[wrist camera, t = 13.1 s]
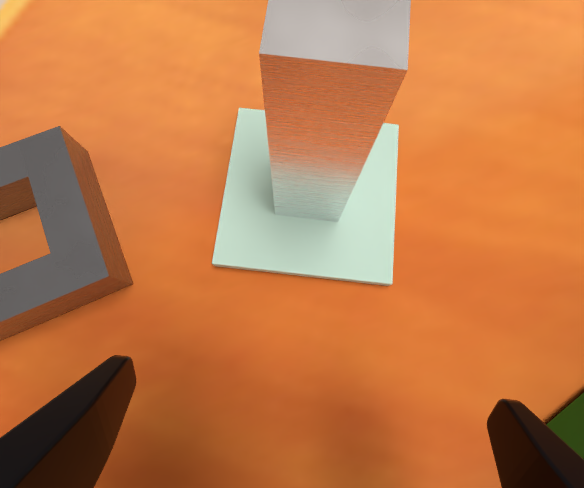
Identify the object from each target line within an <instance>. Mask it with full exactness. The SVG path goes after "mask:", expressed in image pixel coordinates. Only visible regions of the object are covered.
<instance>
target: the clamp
mask: <svg viewBox="0 0 584 488" xmlns="http://www.w3.org/2000/svg"><path fill="white" fill-rule="evenodd" d="M546 425H547V426H548V427H549V428H550V429H551V430H552V431H553V432H554V433H555V434H556V435H558V436H559V437H560V438H561V439H562V440H563V441H564V442H565V443H566V444H567V445H568V446H570V447H571V448H572V449H573V450H574V451H575V452H576V453H577V454H578V455H579V456H580V457H582V458H583V459H584V393H582V394H581V395H580V396H579V397H578V398H577V399H575V400H574V401H573V402H572V403H571V404H570V405H568V406H567V407H566V408H565V409H564V410H563V411H561V412H560V413H559V414H558V415H557V416H556V417H554V418H553V419H552V420H551V421H550V422H549V423H547V424H546Z"/></svg>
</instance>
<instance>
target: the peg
mask: <svg viewBox="0 0 584 488" xmlns="http://www.w3.org/2000/svg"><path fill="white" fill-rule="evenodd" d="M410 2H411V0H268V6H267V12H266V17H265V23H264V29H263V34H262V40H261V46H260V51H259V57H260V67H261V77H262V87H263V97H264V107H265V117H266V127H267V137H268V147H269V157H270V167H271V177H272V187H273V197H274V207H275V215H283V216H291V217H299V218H308V219H316V220H325V221H333V222H338V221H339V219H340V217H341V215H342V213H343V210H344V208H345V206H346V204H347V202H348V199H349V197H350V195H351V193H352V191H353V188H354V186H355V184H356V182H357V180H358V177H359V175H360V173H361V171H362V169H363V167H364V164H365V162H366V160H367V158H368V156H369V153H370V151H371V149H372V147H373V145H374V142H375V140H376V138H377V136H378V134H379V131H380V129H381V127H382V125H383V123H384V120H385V118H386V116H387V114H388V112H389V109H390V107H391V105H392V103H393V101H394V99H395V96H396V94H397V92H398V90H399V88H400V85H401V83H402V81H403V79H404V77H405V74H406V72H407V70H408V48H409V25H410Z"/></svg>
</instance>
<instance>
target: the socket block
mask: <svg viewBox="0 0 584 488" xmlns="http://www.w3.org/2000/svg"><path fill="white" fill-rule="evenodd" d="M35 206H37V208H38V211H39V215H40V218H41V222H42V225H43V229H44V232H45V235H46V239H47V242H48V246H49V249H50V252H51V254H48V255H46V256H43V257H41V258H38V259H36V260H33V261H31V262H28V263H26V264H24V265H21V266H19V267H16V268H14V269H11V270H9V271H6V272H4V273H1V274H0V341H1V340H3V339H6V338H8V337H10V336H13V335H15V334H17V333H20V332H22V331H24V330H27V329H29V328H31V327H34V326H36V325H38V324H41V323H43V322H45V321H48V320H50V319H52V318H55V317H57V316H59V315H62V314H64V313H66V312H69V311H71V310H73V309H76V308H78V307H80V306H83V305H85V304H87V303H90V302H92V301H94V300H97V299H99V298H101V297H104V296H106V295H108V294H111V293H113V292H115V291H118V290H120V289H122V288H125V287H127V286H129V285H132V284H133V282H132V279H131V276H130V273H129V270H128V268H127V265H126V262H125V259H124V256H123V253H122V250H121V247H120V244H119V241H118V239H117V236H116V233H115V230H114V227H113V224H112V221H111V218H110V215H109V212H108V210H107V207H106V204H105V201H104V198H103V195H102V192H101V189H100V186H99V183H98V181H97V178H96V175H95V172H94V169H93V166H92V163H91V160H90V157H89V154H88V152H87V151H86V150H85V149H84V148H83V147H82V146H81V145H80V144H79V143H78V142H77V141H75V140H74V139H73V138H72V137H71V136H70V135H69V134H68V133H67V132H66V131H65V130H63V129H62V128H61V127H60V126H58V127H55V128H53V129H50V130H47V131H44V132H42V133H39V134H36V135H33V136H31V137H28V138H25V139H22V140H20V141H17V142H14V143H11V144H9V145H6V146H3V147H0V220H2V219H4V218H7V217H10V216H12V215H15V214H17V213H20V212H22V211H25V210H28V209H30V208H33V207H35Z"/></svg>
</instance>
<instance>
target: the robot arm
mask: <svg viewBox="0 0 584 488" xmlns="http://www.w3.org/2000/svg"><path fill="white" fill-rule="evenodd" d="M135 386H136V375H135V370H134V365H133V361H132V359H131V358H130V357H128V356H120V355H115V356H112V357H110V358H109V359H107V360H106V361H105V362H103V363H102V364H101V365H99V366H98V367H96V368H95V369H94V370H92V371H91V372H90V373H88V374H87V375H85V376H84V377H83V378H81V379H80V380H79V381H77V382H76V383H75V384H73V385H72V386H70V387H69V388H68V389H66V390H65V391H64V392H62V393H61V394H60V395H58V396H57V397H55V398H54V399H53V400H51V401H50V402H49V403H47V404H46V405H45V406H43V407H42V408H40V409H39V410H38V411H36V412H35V413H34V414H32V415H31V416H29V417H28V418H27V419H25V420H24V421H23V422H21V423H20V424H19V425H17V426H16V427H14V428H13V429H12V430H10V431H9V432H8V433H6V434H5V435H4V436H2V437H1V438H0V488H94V486H95V484H96V482H97V480H98V478H99V476H100V474H101V472H102V470H103V468H104V466H105V464H106V462H107V459H108V457H109V455H110V453H111V450H112V448H113V445H114V443H115V440H116V438H117V435H118V432H119V430H120V427H121V424H122V422H123V419H124V416H125V413H126V411H127V408H128V405H129V403H130V400H131V397H132V395H133V392H134V389H135ZM487 429H488V433H489V437H490V442H491V446H492V450H493V454H494V458H495V462H496V466H497V470H498V474H499V478H500V482H501V486H502V488H584V459H583V458H582V457H580V456H579V455H578V454H577V453H576V452H575V451H574V450H573V449H572V448H571V447H570V446H568V445H567V444H566V443H565V442H564V441H563V440H562V439H561V438H560V437H559V436H558V435H556V434H555V433H554V432H553V431H552V430H551V429H550V428H549V427H548V426H547V425H546V424H544V423H543V422H542V421H541V420H540V419H539V418H538V417H537V416H536V415H535V414H534V413H532V412H531V411H530V410H529V409H528V408H527V407H526V406H525V405H524V404H522V403H521V402H520V401H517V400H510V399H501V400H499V401H498V402H497V404H496V406H495V407H494V409H493V411H492V412H491V414H490V416H489V417H488V420H487Z"/></svg>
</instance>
